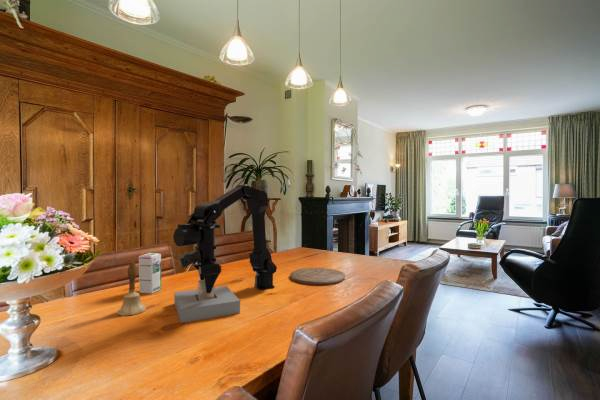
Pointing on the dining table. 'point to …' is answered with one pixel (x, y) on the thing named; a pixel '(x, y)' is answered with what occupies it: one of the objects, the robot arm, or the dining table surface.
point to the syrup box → (150, 273)
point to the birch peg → (204, 291)
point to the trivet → (317, 276)
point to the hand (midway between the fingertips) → (205, 289)
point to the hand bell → (131, 296)
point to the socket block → (205, 304)
